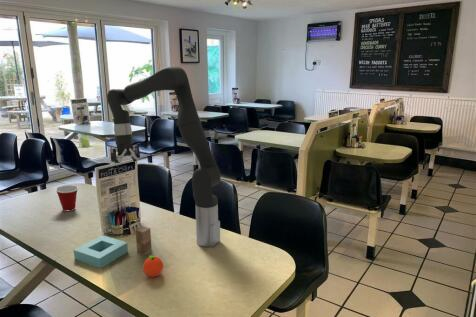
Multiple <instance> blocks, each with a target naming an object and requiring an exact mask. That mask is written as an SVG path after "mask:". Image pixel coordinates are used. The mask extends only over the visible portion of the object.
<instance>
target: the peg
mask: <svg viewBox="0 0 476 317" xmlns="http://www.w3.org/2000/svg"><path fill="white" fill-rule="evenodd" d="M135 240H136V242H135V243H136V253H137V254H140V255H143V256H146V255H148V254H149V253H151V252H153V251H152V250H153V249H152V236H151V228H150V227H147V226H144V225H143V226H140V227H139V228H137V229H135Z"/></svg>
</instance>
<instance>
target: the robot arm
mask: <svg viewBox="0 0 476 317" xmlns="http://www.w3.org/2000/svg"><path fill="white" fill-rule="evenodd" d="M187 74H188V73H187V72H186V70H184V69H183V67H179V66H166V67H165V66H164V67H163V68H161V69H160V70H158V71H156V72H154V73H153V74H151V75H150V76H147V77H146V78H144V79H142V80H138V81H135V82H133V83H130V84H128V85H126V86H125V87H124V88H121V89H120V88H111V89H109V90H108V92H107V95H106V99H107V100H106V101H107V104H108V106H109V110H110V111H111V114H112V119H113V132H114V142H115V145H116V147H115V148H114V147H113V148H110V162H112V163H115V164H116V163H121V161H122V159H123V158H124V157H130V158H131V160H133V161H137V162H138V159H140V158H141V151H140V147H139V145H138V144H134V145H133V143H134V139H133V132H132V131H133V130H132V126H131V124H132V123H131V118H130V112H129V110H125V109H123V108H122V106H127V105H130V104H132V103H133V102H135V101H138V100H140V99H144V98H146V97H147V96H149V95H151V94H153V93H155V92H159V91H160V92H161V91H162V92H163V91H171V92H172V91H174V94H175V96H176V99H177V102H178V104H177V105H178V110H177V126H178V130H179V133H180V135H181V138H182V140H183V141H184V143H185V144H186V145H187V147H188V148H189V149H190V150H191V151H192V152H193V154H194V155H195V157H196V158H197V160H198V164H199V167H200V168H197V169H195V170H194V172H193V173H192V176H191V177H192V178H191V184H192V186H191V187H192V196H193V200H194V202H195V230H196V232H195V234H196V236H195V237H196V244H197V245H198V246H200V247H206V248H208V247H211V248H214V247H215V246H216V245H217V244H219V243H220V242H221V221H220V220H219V206H218V205H219V202H218V201H219V199H218V196H216V195H214V194H213V187H215V186H217V185H218V184H220V182H221V178H222V177H221V171H220V169H219V166H218V165H217V164H218V163H217V162H216V160H215V157H214V155H213V153H212V151H211V149H210V146H209V142H208V139H207V136H206V134H205V131H204V127H203V125H202V122H201V119H200V117H199V113H198V110H197V107H196V104H195V102H194V98H193V94H192V91H191V86H190V82H189V81H190V80H189V77H188V75H187Z"/></svg>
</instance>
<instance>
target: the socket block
mask: <svg viewBox="0 0 476 317" xmlns="http://www.w3.org/2000/svg"><path fill="white" fill-rule="evenodd" d="M128 252H129V247H128V242H126V241H123V240H120V239H117V238H112V237H110V236H106V235H100V236H97V237H96V238H94V239H92V240H91V241H88V242H87V243H84V244H82V245H80V246H78V247H76V248H75V249H73V256H74V260H76V261H79V262H80V263H81V262H82V263H84V264H87V265H89V266H93V267H96V268H98V269H102V268H103V267H106V266H107V265H109V264H110V263H111V262H114V260H116V259H118V258H120V257H122V256H123V255H124V254H126V253H128Z"/></svg>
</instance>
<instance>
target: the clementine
mask: <svg viewBox="0 0 476 317" xmlns="http://www.w3.org/2000/svg"><path fill="white" fill-rule="evenodd" d="M142 266H143V267H142V269H143V272H144V274H145V275H146V276H148V277H151V278H152V277H153V278H154V277H156V276H159V275H160V274H161V273H162V271H163V270H164V269H163V268H164V263H163V260H162V259H161V257H158V256H156V255H151V254H150V255H149V256H147V258H146V259H145V260H144V262H143V265H142Z"/></svg>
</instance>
